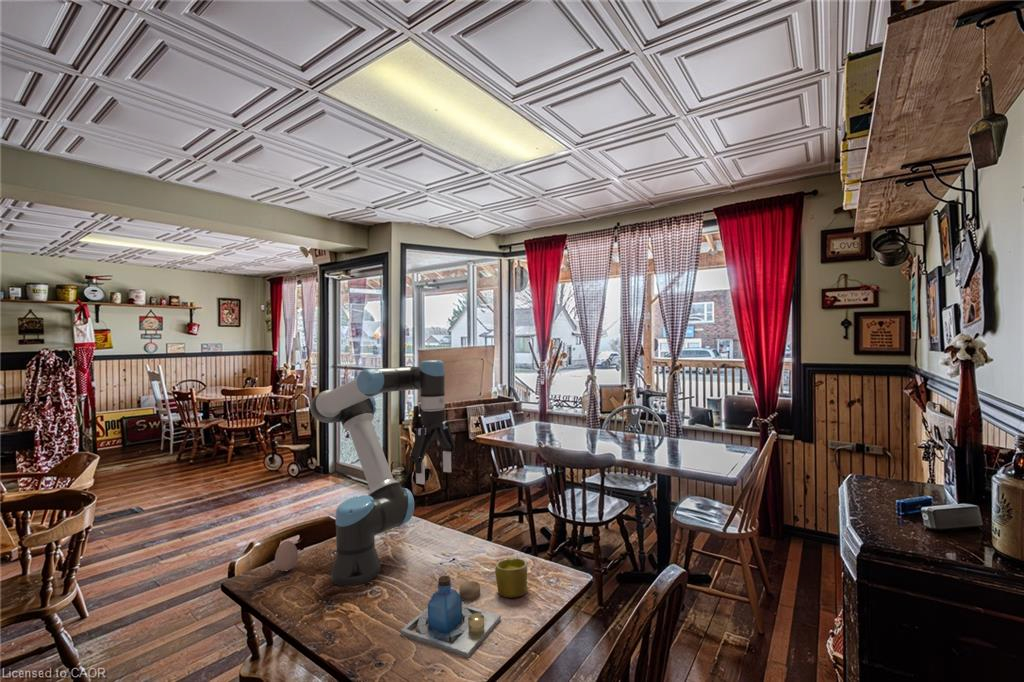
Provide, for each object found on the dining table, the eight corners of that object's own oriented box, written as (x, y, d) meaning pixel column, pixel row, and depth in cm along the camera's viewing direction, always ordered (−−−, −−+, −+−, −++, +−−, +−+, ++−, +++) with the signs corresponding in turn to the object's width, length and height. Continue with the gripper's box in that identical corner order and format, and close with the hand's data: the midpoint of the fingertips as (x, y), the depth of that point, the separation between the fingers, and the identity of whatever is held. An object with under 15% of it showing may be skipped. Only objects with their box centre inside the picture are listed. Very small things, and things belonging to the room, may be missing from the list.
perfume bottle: (447, 635, 111) (446, 587, 111) (428, 628, 114) (427, 581, 114) (462, 622, 116) (461, 576, 116) (443, 615, 119) (442, 570, 119)
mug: (529, 597, 123) (519, 559, 126) (496, 605, 125) (486, 568, 128) (539, 583, 135) (529, 549, 137) (508, 591, 137) (499, 557, 139)
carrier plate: (400, 635, 111) (400, 618, 111) (438, 601, 126) (438, 586, 126) (467, 658, 102) (467, 639, 102) (500, 619, 116) (500, 603, 117)
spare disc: (455, 597, 128) (455, 589, 128) (466, 587, 133) (466, 579, 133) (473, 602, 125) (472, 593, 125) (483, 592, 130) (483, 583, 130)
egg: (293, 563, 151) (293, 535, 151) (301, 570, 146) (300, 540, 146) (272, 571, 146) (271, 541, 146) (279, 578, 141) (278, 547, 141)
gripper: (416, 415, 126) (418, 490, 126) (465, 404, 148) (466, 468, 148) (396, 414, 129) (397, 487, 129) (446, 404, 152) (448, 466, 151)
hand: (434, 477), depth 138 cm, fingers open, 13 cm apart
